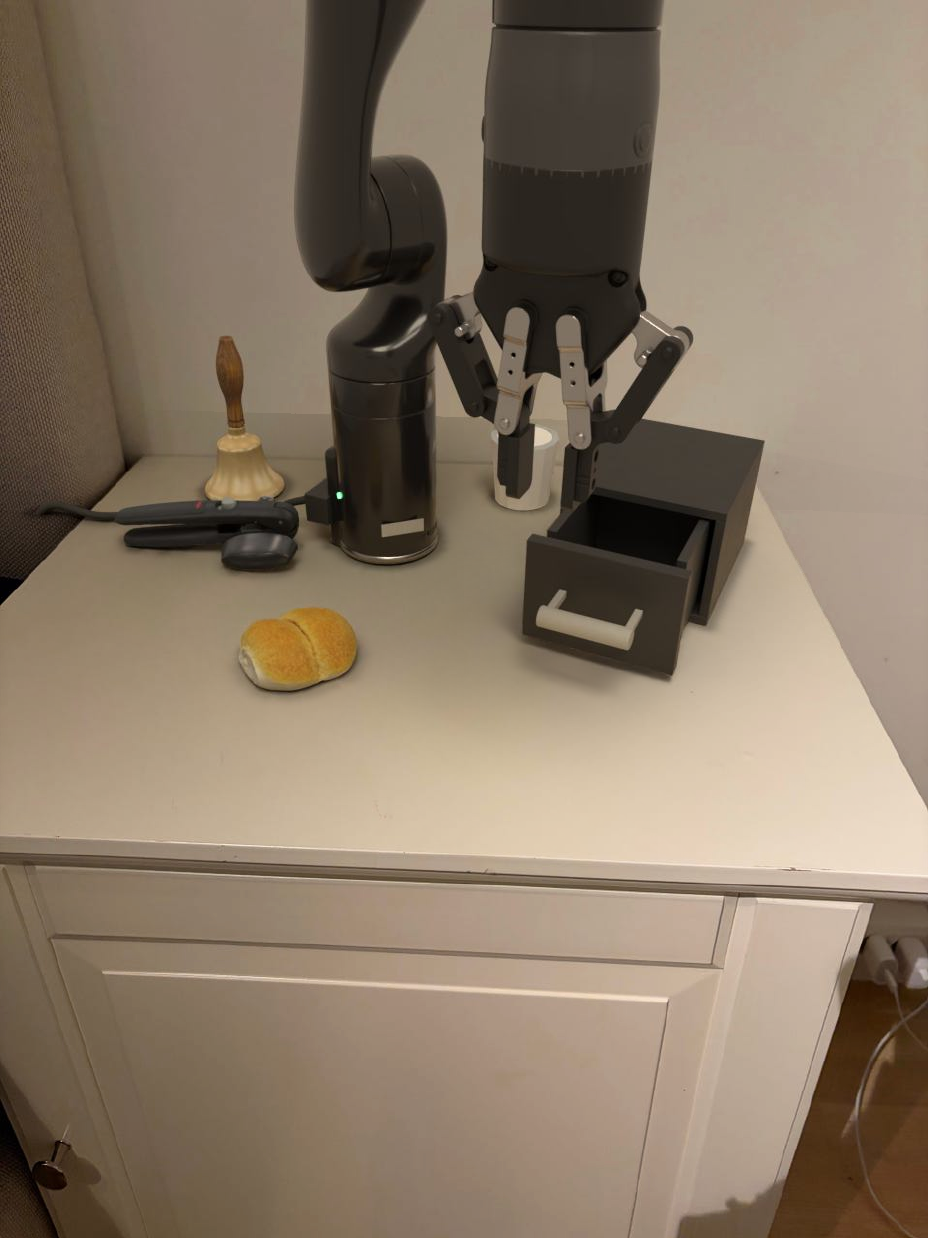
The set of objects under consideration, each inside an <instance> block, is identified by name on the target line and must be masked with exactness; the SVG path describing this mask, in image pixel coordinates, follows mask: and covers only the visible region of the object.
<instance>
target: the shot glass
mask: <svg viewBox="0 0 928 1238" xmlns="http://www.w3.org/2000/svg"><path fill="white" fill-rule="evenodd" d="M534 424H535V437H534V455H533V473H532V483H531V486H530V488H529V490H528V491H527V492H526V493H525V494H524V495H523V496H522V497H521V498H520V499H515V498H510V497H507V496H506V486H502V485H500V483H499V480H498V477H497V467H498V465H497V461H498V431H497V430H496V428H494V430H493V431H491V433H490V439H491V454H492V467H493V468H492V469H493V470H492V471H493V485H494V500H495V502H496V503H498V505H500V506H501V507H504V508H506V509H508V510H513V511H525V512H526V511H533V510H539V509H541V508H543V507H545V506H546V505H547V504H548V502H549V500H550V495H551V490H552V482H553V477H554V471H555V466H556V460H557V455H558V447H559V442H560V437H559V433H557V432H556V431H555V430H554V429H552V428H550V427H548V426H545V425H542V424H537V423H534Z"/></svg>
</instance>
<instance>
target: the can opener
mask: <svg viewBox="0 0 928 1238" xmlns="http://www.w3.org/2000/svg"><path fill="white" fill-rule="evenodd" d="M117 512H118V513H117V514H116V516H115V520H114V522H115V523H116V524H118V525H120V526H141V527H133V528H131V529H129V530H128V531H126V532H125V534H124V536H123V541H124V544H126V545H128V546H132V547H143V548H175V547H187V546H195V545H212V544H213V545H214V544H217V545H222V549H221V561H220V562H221V563H222V564H223V565H224V566H227V567H228V568H231V569H236V570H241V571H267V570H274V569H278V568H281V567H283V566H286V565H288V564H289V563H290V562H291V561H292V559H293V557H294V556H295V555H296V553H297V551H298V550H299V545H298V543H297V541H296V540H295V539H294V538H295V537H296V535H297V533H298V531H299V528H300V516H299V511H298V510H297V508H296V506H292V505H291V504H289V503H285V502H283V501H276V499H275V497H274V498H272V497H271V496H269V495H265V496H262V497H260V498H259V499H258V501H241V500H234V499H232V498H229V497H225V498H223V499H222V500H210V499H206V500H205V499H204V500H203V499H199V500H185V501H170V502H160V503H159V502H158V503H150V504H142V505H136V506H128V507H123V508H122V509H120V510H119V511H117ZM143 525H144V526H143ZM146 525H147V526H146ZM148 525H149V526H148ZM152 525H153V526H152Z"/></svg>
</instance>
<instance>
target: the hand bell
mask: <svg viewBox="0 0 928 1238" xmlns="http://www.w3.org/2000/svg"><path fill="white" fill-rule="evenodd" d="M215 371H216V378H217V381H218V385H219V388H220V391H221V392H222V395H223V397H224V401H225V405H226V406H225V407H226V416H227V434H226V435H224V436H222V437H220V438H219V439H218V441H217V443H216V464H215V468H214V472H213V475H212V476H211V477H210V478H209V479H208V481H207V482H206V484H205V487H204V494H205V496H206V498H208V500H222V499H223V498H225V497H229V498H232V499H234V500H241V501H258V499H259V498H260V497H262V496H265V495H269V496H271V497H272V498H274V499H275V498H276V497H277V496H279V495H280V494H282V492H283V491H284V489H285V487H286V483H285V480H284V478H283V477H282V476H281V474H280V473H278V472H277V471H276V470H273V469H274V468H272V467H271V465H270V464H269V462H268V460H267V458H266V455H265V452H264V449H263V445H262V442H261V439H260V438H259V437H258V436H257V435H255V434H253V433H249V432H247V430H246V426H245V424H246V421H245V417H244V411H243V404H242V403H243V402H242V397H243V396H242V395H243V390H244V382H245V381H244V378H245V376H244V366H243V360H242V358H241V355H240V353H239V351H238V348H237V346H236V344H235V341H234V339H233V336H231V335H222V336H219V338H218V344H217V350H216V355H215Z"/></svg>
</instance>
